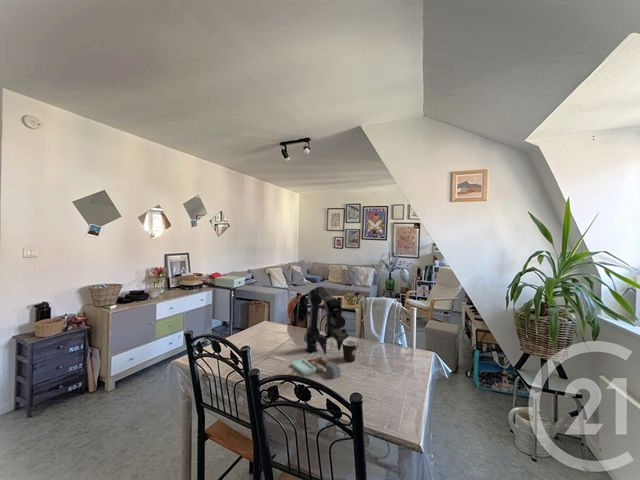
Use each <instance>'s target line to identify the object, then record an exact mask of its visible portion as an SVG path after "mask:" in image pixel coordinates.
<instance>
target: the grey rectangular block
mask: <svg viewBox="0 0 640 480" xmlns="http://www.w3.org/2000/svg"><path fill="white" fill-rule="evenodd" d="M325 369H326V370H325V373H326V374H327V375H329V377H331V378H332V379H333V380H335V379H338V378H339V379H340V378H341V367H340V366H339V365H338V364H336V363H335V362H333V361H329V363H326V365H325Z"/></svg>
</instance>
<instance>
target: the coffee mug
mask: <svg viewBox="0 0 640 480" xmlns="http://www.w3.org/2000/svg"><path fill="white" fill-rule="evenodd" d="M359 346H360V345H359V342H357V341H355V340H351V339H347V340H346V339H345V340H344V341H343V343H342V346H341V347H342V354H343V360H344V361H345V362H346V363H353V362H355V360H356V352H357V350H358V348H359Z"/></svg>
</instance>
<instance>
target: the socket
mask: <svg viewBox="0 0 640 480" xmlns="http://www.w3.org/2000/svg"><path fill="white" fill-rule="evenodd" d="M307 362H309V363H310V364H311V365H313V366H314V367H316V368H317V372H319V373H324V367H323V366H321V365H320V364H319V363H322V364H323V365H324V366H326V363H329V362H330V361H329V360H328V359H326V358H325V357H323V356H319V357H315V358H312V359H308V360H307Z"/></svg>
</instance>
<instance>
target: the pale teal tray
mask: <svg viewBox="0 0 640 480" xmlns="http://www.w3.org/2000/svg"><path fill="white" fill-rule="evenodd" d="M291 367H292V368H294V369H295V370H296V371H298V372H299V373H300V374H301V375H303V377H305V376H308V375H311V374H315V373H317V372H318V371H317V368H316V367H314V366H313V365H311V364H310V363H309V362H308V360H305V359H304V358H301V359H299V360H294V361H292V362H291Z"/></svg>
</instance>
